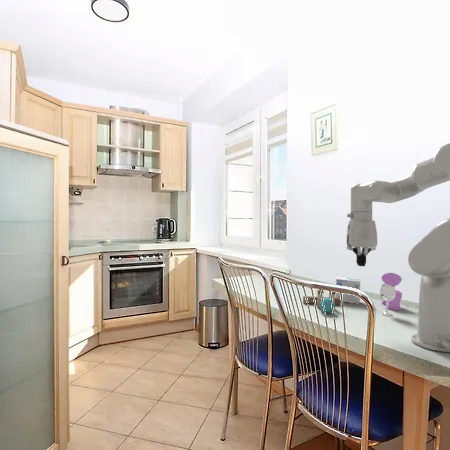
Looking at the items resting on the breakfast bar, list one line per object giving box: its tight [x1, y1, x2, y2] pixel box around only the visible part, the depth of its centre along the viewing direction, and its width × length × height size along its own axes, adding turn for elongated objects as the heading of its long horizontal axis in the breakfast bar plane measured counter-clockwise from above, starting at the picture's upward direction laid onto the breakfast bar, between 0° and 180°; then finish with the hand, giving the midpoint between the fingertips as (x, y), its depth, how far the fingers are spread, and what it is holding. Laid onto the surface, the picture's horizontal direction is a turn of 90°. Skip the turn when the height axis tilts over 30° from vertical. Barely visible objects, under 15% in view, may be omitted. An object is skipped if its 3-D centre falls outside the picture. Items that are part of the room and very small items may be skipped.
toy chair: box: [381, 272, 403, 311], centre depth 149 cm, size 8×9×15 cm
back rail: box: [302, 295, 341, 306], centre depth 149 cm, size 2×16×3 cm, turn 89°
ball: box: [320, 298, 336, 314], centre depth 135 cm, size 6×6×6 cm
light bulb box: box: [335, 276, 361, 305], centre depth 156 cm, size 11×7×11 cm, turn 69°
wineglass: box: [379, 283, 396, 317], centre depth 136 cm, size 6×6×12 cm
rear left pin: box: [316, 289, 325, 310], centre depth 143 cm, size 2×2×8 cm
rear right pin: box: [328, 291, 336, 303], centre depth 142 cm, size 2×2×8 cm
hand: (361, 265), depth 125 cm, fingers closed
